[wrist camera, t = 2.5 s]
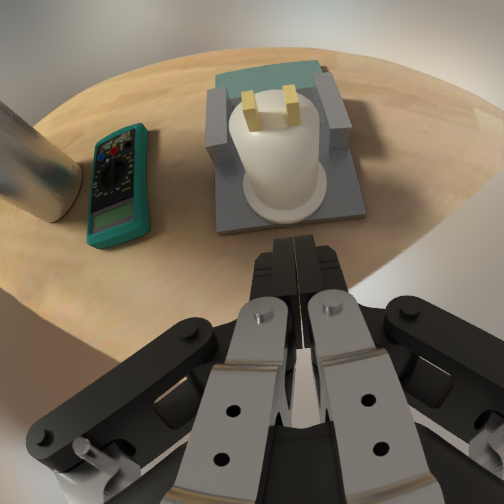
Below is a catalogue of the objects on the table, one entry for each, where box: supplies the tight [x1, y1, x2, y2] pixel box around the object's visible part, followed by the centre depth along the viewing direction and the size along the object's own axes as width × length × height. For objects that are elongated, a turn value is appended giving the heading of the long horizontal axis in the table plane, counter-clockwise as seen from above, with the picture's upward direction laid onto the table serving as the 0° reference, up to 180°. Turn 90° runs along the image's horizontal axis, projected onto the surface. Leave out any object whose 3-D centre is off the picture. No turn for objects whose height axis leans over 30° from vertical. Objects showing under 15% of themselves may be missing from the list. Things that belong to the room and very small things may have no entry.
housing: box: [205, 60, 366, 235], centre depth 25 cm, size 13×22×4 cm, turn 4°
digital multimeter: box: [87, 123, 150, 249], centre depth 28 cm, size 7×15×3 cm, turn 11°
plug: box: [229, 84, 327, 224], centre depth 19 cm, size 7×7×11 cm
